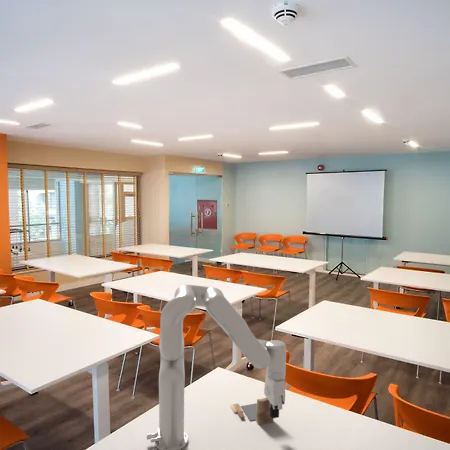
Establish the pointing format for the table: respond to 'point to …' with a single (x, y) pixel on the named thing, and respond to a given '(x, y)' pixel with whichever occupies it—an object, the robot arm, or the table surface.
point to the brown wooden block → (263, 411)
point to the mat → (250, 411)
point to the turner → (237, 410)
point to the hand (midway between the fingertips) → (274, 416)
